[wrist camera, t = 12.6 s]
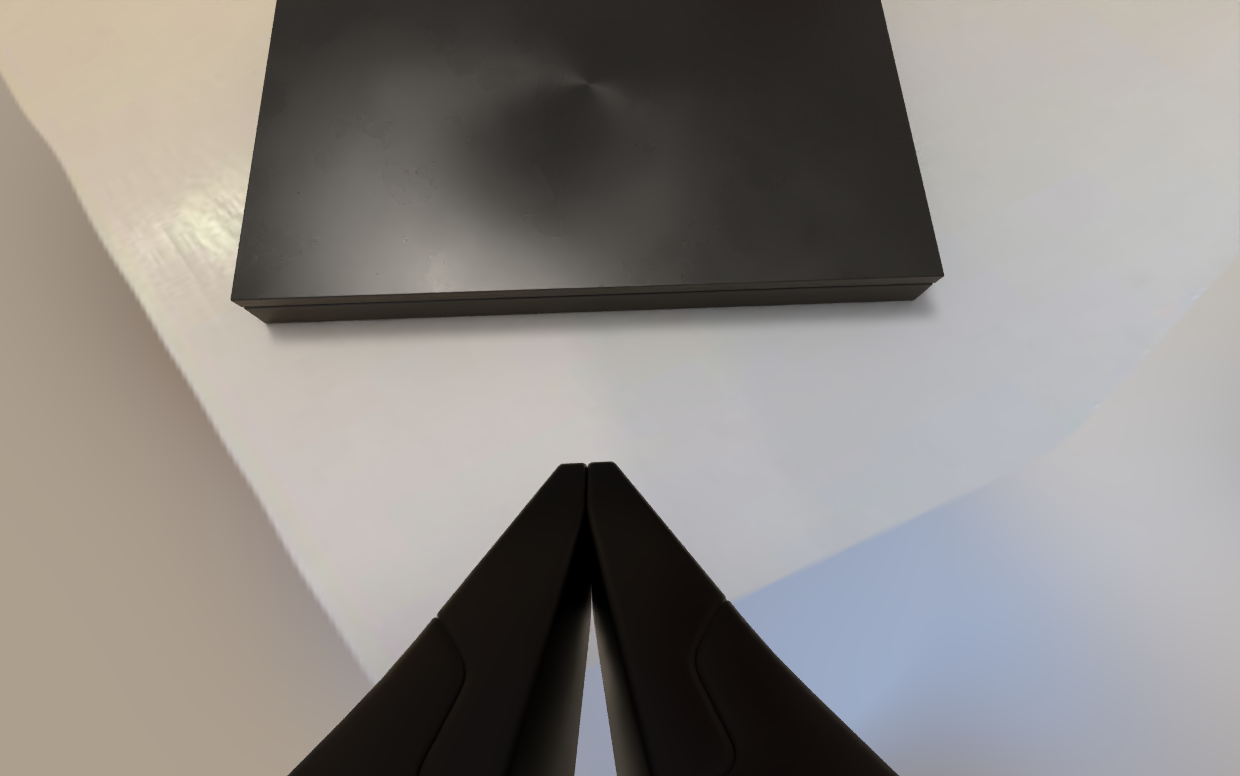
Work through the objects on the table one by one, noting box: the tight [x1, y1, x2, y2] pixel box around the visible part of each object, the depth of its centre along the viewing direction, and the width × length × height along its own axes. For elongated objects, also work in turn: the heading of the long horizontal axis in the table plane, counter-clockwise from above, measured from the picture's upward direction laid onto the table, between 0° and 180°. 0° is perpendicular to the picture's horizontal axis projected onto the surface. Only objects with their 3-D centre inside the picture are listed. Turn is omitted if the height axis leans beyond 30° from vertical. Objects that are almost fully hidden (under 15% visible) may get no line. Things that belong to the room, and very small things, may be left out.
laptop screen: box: [231, 0, 944, 307], centre depth 25 cm, size 21×30×1 cm
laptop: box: [244, 283, 933, 323], centre depth 27 cm, size 21×30×2 cm
